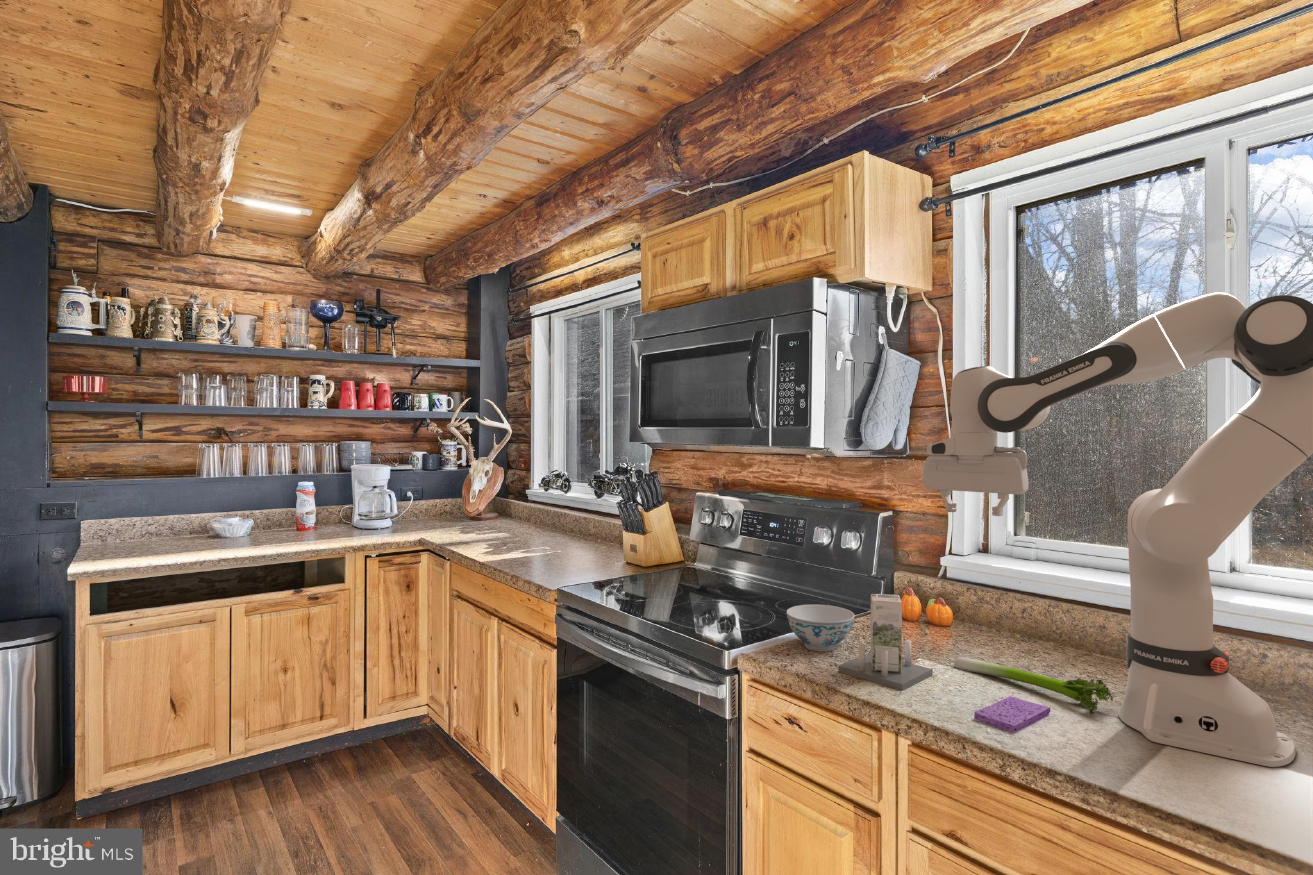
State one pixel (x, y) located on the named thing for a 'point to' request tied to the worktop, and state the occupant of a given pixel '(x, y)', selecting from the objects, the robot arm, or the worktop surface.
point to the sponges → (1012, 714)
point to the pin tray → (886, 669)
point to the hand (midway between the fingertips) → (973, 513)
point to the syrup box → (886, 631)
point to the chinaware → (820, 625)
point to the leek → (1042, 681)
